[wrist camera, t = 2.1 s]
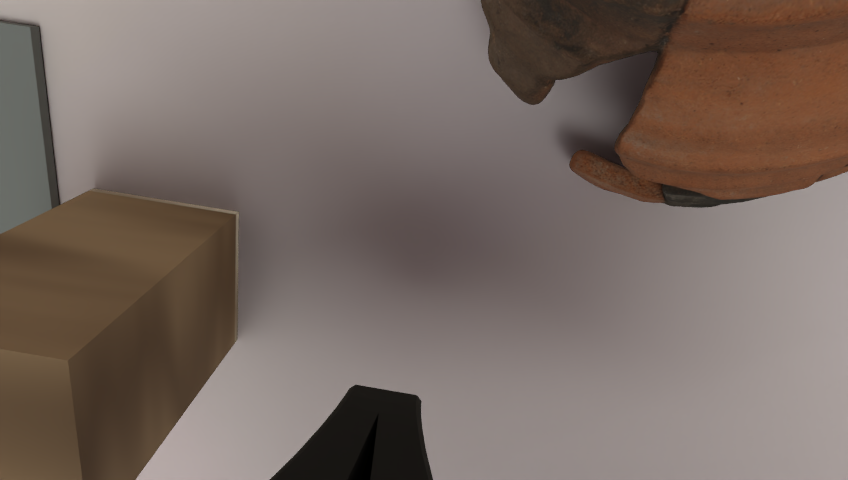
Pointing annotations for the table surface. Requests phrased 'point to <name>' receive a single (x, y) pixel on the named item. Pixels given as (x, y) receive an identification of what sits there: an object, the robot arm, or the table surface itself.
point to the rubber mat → (24, 129)
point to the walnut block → (109, 330)
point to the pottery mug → (695, 89)
